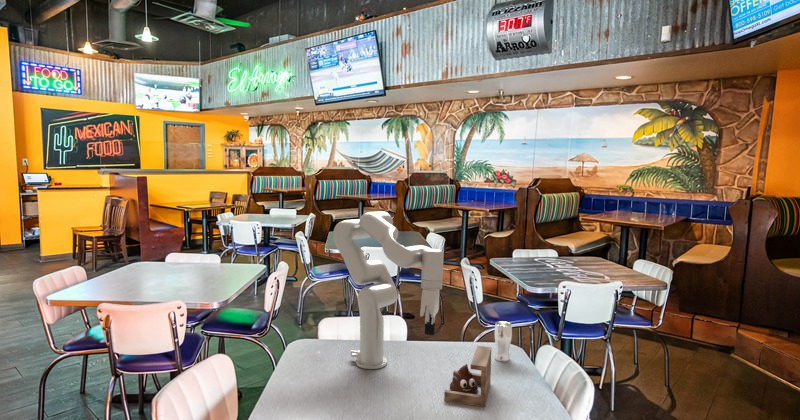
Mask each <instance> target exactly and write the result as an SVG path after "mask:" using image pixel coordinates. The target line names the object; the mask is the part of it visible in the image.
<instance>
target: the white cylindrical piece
mask: <svg viewBox="0 0 800 420" xmlns="http://www.w3.org/2000/svg"><path fill="white" fill-rule="evenodd" d="M512 336H513V327H512V323H511V322H508V321H503V320H501V321H495V325H494V343H495V356H494V359H495V360H496V361H498V362H503V363H507V362H509V361H511V359H510V358H511V357H510V348H511V343H512Z"/></svg>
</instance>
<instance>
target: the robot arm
mask: <svg viewBox="0 0 800 420" xmlns="http://www.w3.org/2000/svg"><path fill="white" fill-rule="evenodd" d="M393 224H394V220H393V217H392V216H391V215H390V214H389V213H388V212H387V211H380V210H379V211H368V212H365V213H363V214H362V215H361V216H360V218H356V219H355V218H354V219H345V220H342V221H341V220H340V221H339V222H338V223H336V225H335V226H334V228H333V234H332V235H333V242H334V244H335V247H336V248H337V250H338V252H339V253H340V255H341V257H342V259H343V262H344V263H345V266H346V268H347V270H348V273H349V276H350V277H351V279H352V281H353V283H355V284H356V285H358V286H363V285H367V286H365V287H362V288H361V289H360V290H359V292H358V294H357V305H358V309H359V350H355V349H351V350H350V355H351V357H352V358H356V360H355V365H356V366H357V367H359V368H360V369H365V370H377V369H381V368H384V367H386V365H387V364H388V359H387V358H386V356H384V339H385V338H384V331H385V330H384V328H385V327H384V325H385V323H384V322H385V321H384V316H383V314H382V312H381V308H384V307H387V306H390V305H393V304H394V303H396V302H397V299H398V290H397V288H396V284H395V282H394V281H393V277H392V276H391V274H390V272H389V270H388V267H387V266H386V265H385V263H384V262H383V261H382V260H380V259H375V258H374V259H368V258H367V257H366V255H365V253H364V251H363V249H362V248H361V247H360V245H358V244H357V243H355V242H354V240H362V239H368V238H369V239H370V238H372V239H373V240H375V241H376V242H378V243H379V244H380V245H381V246H382V251H383V253H384V255H385V256H386V258H387V259H388V260H390V261H391V262H392V263H393V264H394V265H396V266H398V267H400V268H402V269H410V268H416V267H421V276H420V278H421V281H420V288H421V289H422V292H421V297H420V298H421V300H420V311H419V317H425V318H424V334H425V335H428V336H434V334H436V333H435V331H436V327H435V326H436V323H435V322H436V315H437V314H438V312H439V309H440V292H441V291H440V290H442V289H443V279H444V278H443V276H444V255H445V254H444V251H443V250H442V249H440V248H435V247H432V248H431V247H430V246H427V245H424V244H423V245H422V244H417V245H410V246H404V245H402V244H400V243H399V242H398V241H397V239H398V236H399V230H398V228H397V227H396V226H394V225H393ZM369 284H371V285H369Z"/></svg>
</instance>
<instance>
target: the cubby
mask: <svg viewBox="0 0 800 420" xmlns="http://www.w3.org/2000/svg"><path fill="white" fill-rule="evenodd" d="M470 370H475V371H480V373H475V372H471V373H472V376H473V378H474V380H475V382H476V383H477V385H478V384H479V385H480V394H475V393H472V394H470V393H462V392H456V391H451V390H450V389H448V390H447V389H445V390H444V394H443V395H444V396H443V398H444V401H446V402H450V403H456V404H462V405H463V404H464V405H470V406H477V407H482V408H486V406H487V405H486V404H487V399H488V397H489V396H488V395H489V393H490V392H489V391H490V387H491V379H492V378H491V375H492V347H490V346H482V345H477V346H476V349H475V351H474V354H473V356H472V360H471V363H470ZM457 372H458V370H453V372H452V375H453V376H452V378H453V377H454V376H456V373H457Z"/></svg>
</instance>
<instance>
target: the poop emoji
mask: <svg viewBox="0 0 800 420" xmlns="http://www.w3.org/2000/svg"><path fill="white" fill-rule="evenodd" d="M457 371H458V372H457V373H456V376H454V377H453V376H452V381H451V382H450V384H449V391H456V392H462V393H469V394H475V393H476V392H477V391H478V387H479V386H478V384H477V383H476V382H475V380H474V378H473V376H472V373H473V372H471V371H470V370H469V366H468V364H467V363H465V364H464V365H462V366H461V367H460V368H459V369H458V370H457Z"/></svg>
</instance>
